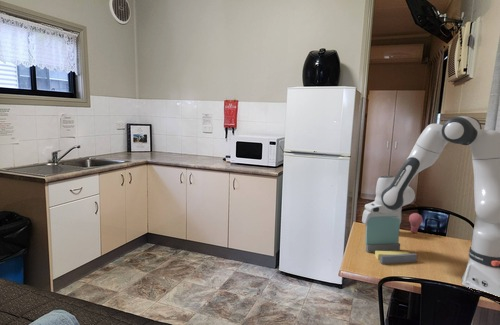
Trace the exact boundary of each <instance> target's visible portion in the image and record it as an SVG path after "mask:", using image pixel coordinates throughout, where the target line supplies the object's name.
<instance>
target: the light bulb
mask: <svg viewBox="0 0 500 325" xmlns="http://www.w3.org/2000/svg"><path fill="white" fill-rule="evenodd" d="M408 222H409V223H410V227H411V228H410V232H411V233H412V234H417V233H418V231H419V230H418V229H419V228H420V226H421V225H422V223H423V217H422V215H421V214H419V213H418V212H412V213H411V214H410V215H409V217H408Z"/></svg>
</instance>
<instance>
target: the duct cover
mask: <svg viewBox="0 0 500 325" xmlns="http://www.w3.org/2000/svg"><path fill="white" fill-rule="evenodd" d="M391 217H397V216H389V217H370V218H369V220H368V221H367V225H365V226H366V227H365V246H366V245H370V244H386V243H400V241H399V240H400V239H399V238H400V229H399V225H401V223H400V219H398V218H391Z"/></svg>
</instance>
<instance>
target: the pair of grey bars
mask: <svg viewBox="0 0 500 325" xmlns="http://www.w3.org/2000/svg"><path fill="white" fill-rule="evenodd" d="M365 246H366V247H365V251H366V253H375V251H401V250H400V249H401V243H400V242H399V243H386V244H370V245H366V244H365ZM417 259H418V254H417V253H415V252H414V253H413V252H411V253H410V254H397V255H383V256H381V258H380V260H379V263H380V264H381V265H388V264H389V265H390V264H400V263H401V264H403V263H404V264H405V263H414V262H415V263H416V262H417V261H418V260H417Z"/></svg>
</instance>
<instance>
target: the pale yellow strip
mask: <svg viewBox="0 0 500 325" xmlns="http://www.w3.org/2000/svg"><path fill="white" fill-rule="evenodd" d="M397 254H411V253H410V252H409V251H401V250H397V251H375V252H374V256H375V258H376V259H377V260H378V261H380V258H381V256H383V255H397Z"/></svg>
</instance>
